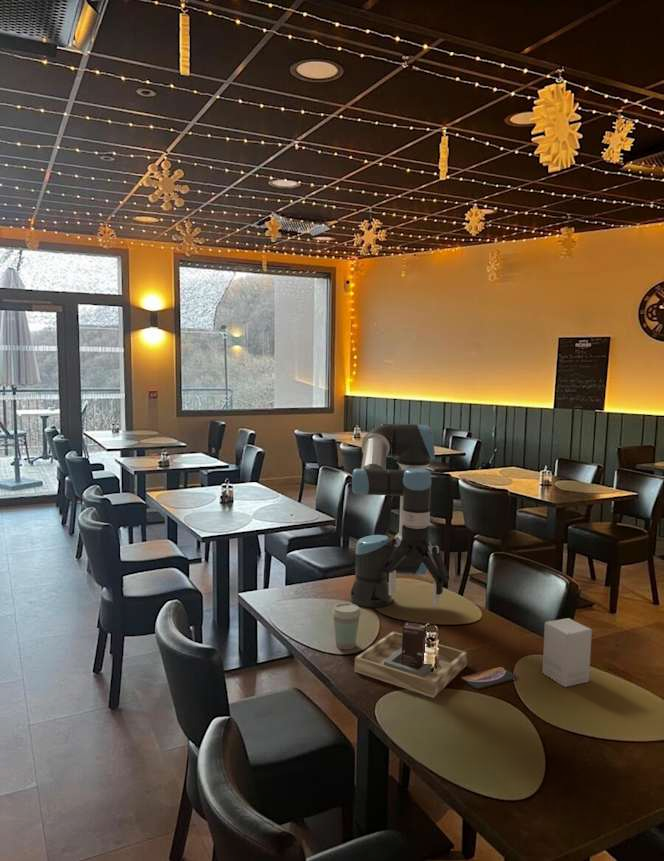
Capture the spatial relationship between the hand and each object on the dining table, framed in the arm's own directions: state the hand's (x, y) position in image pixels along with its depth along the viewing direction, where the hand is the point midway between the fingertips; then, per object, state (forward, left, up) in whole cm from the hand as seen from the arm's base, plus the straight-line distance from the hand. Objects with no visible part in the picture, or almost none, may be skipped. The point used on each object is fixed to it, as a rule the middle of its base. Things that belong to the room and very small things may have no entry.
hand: (413, 599), depth 178 cm
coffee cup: (-1, -23, -20) cm, 31 cm away
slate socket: (0, 0, -20) cm, 20 cm away
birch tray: (0, 0, -20) cm, 20 cm away
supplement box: (-20, +37, -20) cm, 47 cm away
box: (0, +1, -20) cm, 20 cm away
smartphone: (-7, +20, -21) cm, 30 cm away
